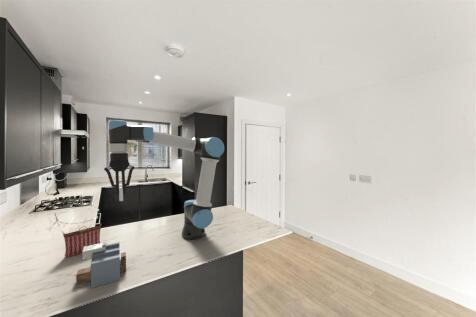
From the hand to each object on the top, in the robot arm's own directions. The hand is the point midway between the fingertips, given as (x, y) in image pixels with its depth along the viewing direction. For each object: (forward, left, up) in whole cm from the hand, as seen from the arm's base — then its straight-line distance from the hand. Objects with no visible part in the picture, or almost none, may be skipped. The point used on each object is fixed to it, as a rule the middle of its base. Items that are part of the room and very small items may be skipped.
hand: (121, 200), depth 95 cm
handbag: (+19, -20, -32) cm, 42 cm away
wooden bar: (+9, +7, -31) cm, 33 cm away
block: (+6, +7, -31) cm, 33 cm away
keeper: (+10, +7, -21) cm, 25 cm away
